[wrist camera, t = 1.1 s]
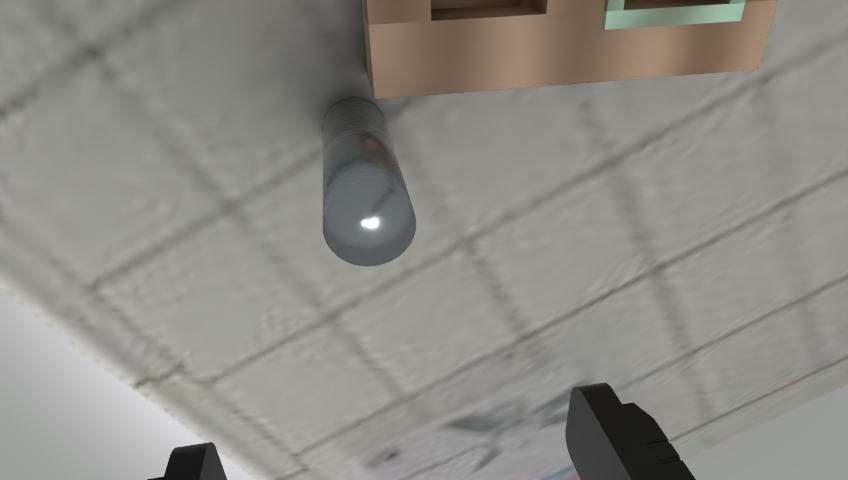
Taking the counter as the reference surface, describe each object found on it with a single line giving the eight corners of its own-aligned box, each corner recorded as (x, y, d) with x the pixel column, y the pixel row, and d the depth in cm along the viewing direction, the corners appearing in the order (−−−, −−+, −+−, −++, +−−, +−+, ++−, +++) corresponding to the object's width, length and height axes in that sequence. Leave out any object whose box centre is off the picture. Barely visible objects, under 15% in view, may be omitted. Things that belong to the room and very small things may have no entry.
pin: (383, 95, 30) (414, 179, 20) (387, 155, 32) (417, 260, 22) (319, 100, 30) (316, 189, 19) (327, 160, 31) (329, 271, 21)
